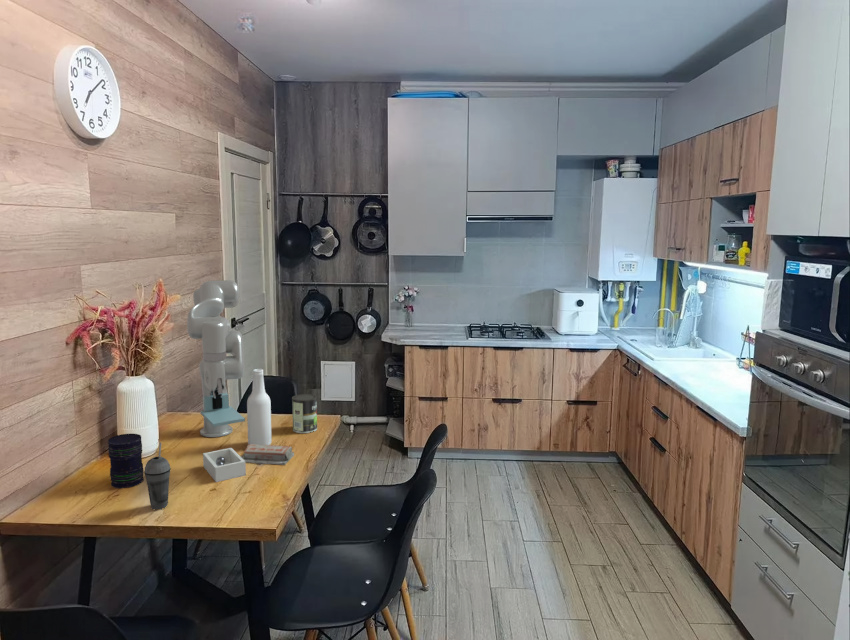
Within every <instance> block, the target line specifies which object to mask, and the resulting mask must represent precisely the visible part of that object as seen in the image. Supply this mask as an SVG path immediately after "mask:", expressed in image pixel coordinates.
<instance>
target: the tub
mask: <svg viewBox="0 0 850 640" xmlns="http://www.w3.org/2000/svg"><path fill="white" fill-rule="evenodd" d="M218 457H224V458H225V463H224V465H221V466H217V465H216V460H217V458H218ZM202 458H203V459H202V460H203V461H202V464H203V468H204V469H205V470H207V471H206V472H207V473H208V474H209V475H210V477H211V478H212V480H214V482H215V483H218V482H222V481H223V482H224V481H227V480H232V479H235V478H241V477H244V476H247V473H246V472H247V471H246V470H247V468H246V462H245V460H243V459H242V458H241V455H239V454H238V452H237V451H236V450H234V448H232V447H228V448H222V449H218V450H213V451H209V452H203V453H202Z"/></svg>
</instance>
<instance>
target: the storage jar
mask: <svg viewBox="0 0 850 640" xmlns="http://www.w3.org/2000/svg"><path fill="white" fill-rule="evenodd" d="M142 442H143V441H142V435H141V434H138V433H122V434H117V435H115V436H112V437H110V438H109V439H108V441H107V443H108V446H107V447H108V448H107V449H108V450H107V451H108V457H109V462H110V468H109V471H110V472H109V478H110V485H111V487H112V488H114V489H129V488H132V487H136V486H138V485H141V484H142V483H143V482H144V471H145V468H144V463H143V459H142V458H143V457H142V453H143V443H142Z"/></svg>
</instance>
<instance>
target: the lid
mask: <svg viewBox="0 0 850 640" xmlns="http://www.w3.org/2000/svg"><path fill="white" fill-rule="evenodd" d="M203 398H204V410H203V409H202V410H200V412H199V413H200V415H201V416H202V417H203V419H204V418H205V419H206V420H207V421H208V422H209V423H210V424H211V425H212V426H213V427H216V426H221V425H227V424H228V425H231V424H237V423H242V422H246V418H245V417H244V416H242V414H241V413H239V412H238V411H237V410H236V409H235V408H233V407H232V406H231V405H230V403H229V401H230V400H229V393H228V392H227V393H224V394H222V408H220V409H213V403H212V398H213V395H211V396H204V397H203V396H202V399H203Z"/></svg>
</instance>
